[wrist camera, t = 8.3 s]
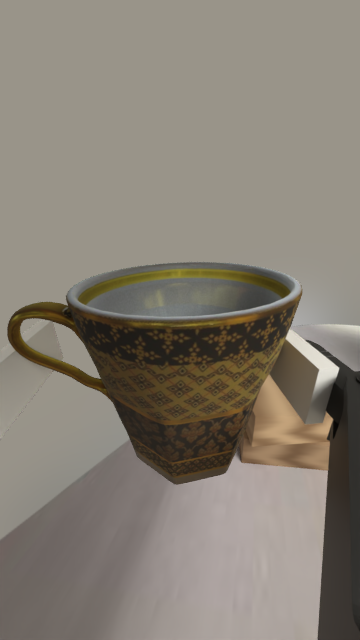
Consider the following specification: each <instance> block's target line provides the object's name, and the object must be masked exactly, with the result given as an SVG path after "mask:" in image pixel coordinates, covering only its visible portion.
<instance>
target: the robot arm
mask: <svg viewBox="0 0 360 640" xmlns="http://www.w3.org/2000/svg"><path fill="white" fill-rule="evenodd" d="M21 336H22V339H23V340H24V342H25V343H26V344H27V345H28V346H29V347H31V348H32V349H34V350H36V351H38V352H40V353H42V354H44V355H47V356H49V357H52V358H55V359H57V360H60V361H61V360H62V359H63V355H62V352H61V349H60V346H59V342H58V339H57V335H56V332H55V328H54V325H53V322H52V321H49V320H45V321H38V322H37V323H36V324H34V325H33V326H32V327H30V328H29V329H28V330H26V331H25V332H24V333H22V334H21ZM52 372H53V370H52V369H49V368H46V367H43V366H40V365H38V364H35V363H33V362H31V361H29V360H27V359H26V358H24V357H23V356H21V355H20V354H19V353H18V352H17V351H15V349H14V348H13V347H12V345H11V344H10V343H9V344H8V345H7V346H5V347H4V348H3V349H2V350H0V439H1V438H2V437H3V435H4V434H5V433H6V432H7V430H8V429H9V428H10V426H11V425H12V424H13V422H14V421H15V420H16V418H17V417H18V416H19V415H20V413H21V412H22V411H23V409H24V408H25V407H26V406H27V404H28V403H29V402H30V400H31V399H32V398H33V397H34V395H35V394H36V393H37V391H38V390H39V388H40V387H41V386H42V385H43V383H44V382H45V381H46V379H47V378H48V377H49V376H50V374H51V373H52ZM269 375H270V376H271V378H272V379H273V380H274V382H275V383H276V385H277V386H278V387H279V389H280V390H281V392H282V393H283V394H284V396H285V397H286V399H287V400H288V401H289V403H290V404H291V405H292V407H293V408H294V410H295V411H296V412H297V414H298V415H299V417H300V418H301V419H302V421H303V422H304V424H316V423H323V421H324V417H325V414H326V412H327V413H328V414H329V415H330V416H331V417H332V419H333V421H332V424H331V427H330V430H329V433H328V436H327V440H329V441H330V448H329V464H328V480H327V497H326V513H325V529H324V545H323V561H322V578H321V594H320V610H319V626H318V640H360V371H359V372H354V371H353V370H351V369H350V368H349V367H347V366H346V365H345V364H344V363H342V362H341V361H340V360H338V359H337V358H336V357H333V355H332V354H330V353H329V352H327V351H326V350H325V349H324V348H322V347H321V346H320V345H318V344H316V343H314V342H311V341H309V340H304V339H303V338H301V337H300V336H299V335H298V334H296V333H295V332H294V331H293V330H291V329H289V331H288V334H287V336H286V339H285V341H284V343H283V346H282V348H281V351H280V353H279V356H278V358H277V360H276V362H275V364H274V366H273V368H272V369H271V371H270V373H269Z"/></svg>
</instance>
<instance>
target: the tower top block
mask: <svg viewBox="0 0 360 640" xmlns="http://www.w3.org/2000/svg"><path fill="white" fill-rule="evenodd" d="M332 421H333V419H332V417H331V416H330V415H329V414H328V413H327V412H326V414H325V417H324V421H323V423H316V424H304V422H303V421H302V419H301V418H300V417H299V415H298V414H297V412H296V411H295V410H294V408H293V407H292V405H291V404H290V403H289V401H288V400H287V399H286V397H285V396H284V394H283V393H282V392H281V390H280V389H279V387H278V386H277V385H276V383H275V382H274V380H273V379H272V378H271V376H270V375H268V377H267V378H266V380H265V382H264V383H263V385H262V387H261V389H260V392H259V394H258V397H257V400H256V402H255V405H254V408H253V410H252V412H251V415H250V418H249V422H248V425H247V427H246V432H247V435H248V438H249V441H250V443H251V446H252V447H255V446H271V445H287V444H302V443H319V442H330V441H329V440H327V436H328V433H329V430H330V427H331V424H332Z"/></svg>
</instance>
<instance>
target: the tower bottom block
mask: <svg viewBox="0 0 360 640" xmlns="http://www.w3.org/2000/svg"><path fill="white" fill-rule="evenodd" d="M239 448H240V455H241V462H242V463H252V464H263V465H274V466H285V467H296V468H307V469H318V470H328V464H329V448H330V442H319V443H302V444H287V445H271V446H255V447H252V446H251V443H250V441H249V438H248V435H247V432H246V430H245V432H244V435H243V437H242V439H241V442H240V444H239Z"/></svg>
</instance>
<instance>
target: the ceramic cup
mask: <svg viewBox="0 0 360 640" xmlns="http://www.w3.org/2000/svg"><path fill="white" fill-rule="evenodd" d="M301 296H302V286H301V285H300V283H299V282H298V281H297V280H296V279H294V278H292V277H291V276H289V275H286V274H284V273H281V272H278V271H275V270H271V269H267V268H262V267H256V266H249V265H242V264H232V263H210V262H190V263H168V264H155V265H146V266H138V267H131V268H126V269H121V270H115V271H111V272H107V273H103V274H100V275H96V276H93V277H90V278H88V279H85V280H83V281H81V282H79V283H78V284H76V285H74V286H73V287H72V288H71V289H70V290H69V291H68V293H67V296H66V300H67V303H68V306H67V305H64V304H60V303H53V302H40V303H35V304H31V305H28V306H25V307H23V308H21V309H19V310H18V311H16V312H15V313H14V314H13V316H12V317H11V319H10V321H9V324H8V339H9V342H10V344H11V345H12V347H13V348H14V349H15V351H17V352H18V353H19V354H20V355H21V356H23V357H24V358H26V359H27V360H29V361H31V362H33V363H35V364H38V365H40V366H43V367H46V368H49V369H52V370H55V371H57V372H60V373H63V374H65V375H68V376H70V377H72V378H74V379H75V380H77V381H78V382H80V383H82V384H83V385H85V386H87V387H90V388H93V389H96V390H98V391H100V392H102V393H103V394H104V395H106V396H107V397H108V398H109V399H110V400H111V401H112V402H113V404H114V406H115V408H116V410H117V412H118V414H119V417H120V419H121V421H122V423H123V425H124V427H125V429H126V431H127V433H128V435H129V438H130V440H131V442H132V445H133V447H134V450H135V452H136V455H137V457H138V458H139V459H140V460H142V461H143V462H144V463H146V464H147V465H148V466H150V467H151V468H153V469H154V470H155V471H157V472H158V473H159V474H161V475H162V476H163V477H165V478H166V479H168V480H169V481H170V482H172V483H174V484H177V485H178V484H183V483H188V482H192V481H196V480H201V479H205V478H209V477H213V476H218V475H222V474H224V473H226V471H227V470H228V468H229V465H230V463H231V461H232V459H233V457H234V455H235V453H236V450H237V448H238V446H239V444H240V442H241V439H242V437H243V435H244V432H245V430H246V427H247V425H248V422H249V418H250V415H251V412H252V410H253V408H254V405H255V402H256V400H257V397H258V394H259V392H260V389H261V387H262V385H263V383H264V382H265V380H266V378H267V377H268V375H269V373H270V371H271V369H272V368H273V366H274V364H275V362H276V360H277V358H278V356H279V353H280V351H281V348H282V346H283V343H284V341H285V339H286V336H287V334H288V331H289V329H290V327H291V324H292V321H293V318H294V315H295V312H296V310H297V307H298V304H299V301H300V298H301ZM30 318H40V319H45V320H49V321H52V322H56V323H59V324H62V325H64V326H66V327H68V328H70V329H72V330H73V331H74V332H75V333H76V335H77V336H78V337H79V338H80V339H81V341H82V342H83V343H84V345H85V347H86V349H87V350H88V352H89V354H90V356H91V358H92V360H93V362H94V364H95V366H96V368H97V370H98V373H99V375H100V377H101V379H98V378H94V377H91V376H89V375H87V374H86V373H84V372H83V371H81V370H80V369H78V368H76V367H74V366H72V365H70V364H68V363H65V362H63V361H60V360H57V359H55V358H52V357H49V356H47V355H44V354H42V353H40V352H38V351H36V350H34V349H32V348H31V347H29V346H28V345H27V344H26V343H25V342H24V340H23V339H22V336H21V334H20V326H21V323H22V322H23V320H25V319H30Z"/></svg>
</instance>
